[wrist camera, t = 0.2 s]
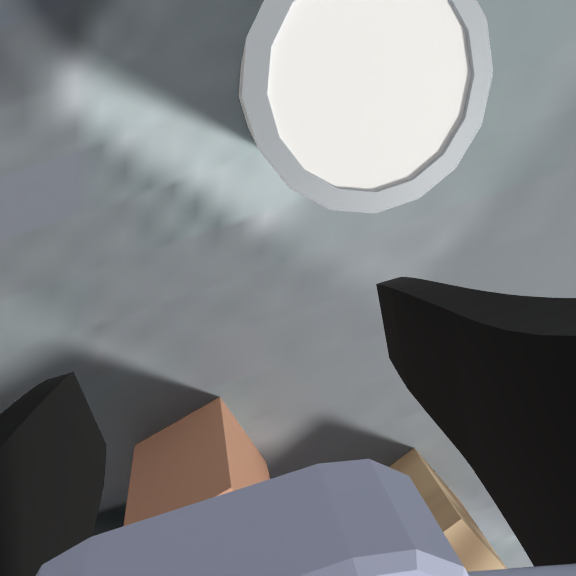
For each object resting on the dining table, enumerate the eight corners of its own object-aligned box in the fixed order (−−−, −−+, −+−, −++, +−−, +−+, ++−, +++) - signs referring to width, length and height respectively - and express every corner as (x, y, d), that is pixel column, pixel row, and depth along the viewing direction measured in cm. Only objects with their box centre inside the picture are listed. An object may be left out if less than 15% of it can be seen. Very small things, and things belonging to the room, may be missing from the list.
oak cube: (458, 499, 29) (511, 575, 24) (388, 551, 29) (426, 636, 24) (413, 446, 27) (461, 518, 22) (338, 503, 27) (370, 586, 22)
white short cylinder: (201, 151, 20) (210, 176, 13) (250, -44, 18) (289, -126, 11) (361, 199, 22) (437, 241, 15) (420, 27, 20) (537, -9, 13)
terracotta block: (266, 462, 25) (289, 563, 20) (187, 507, 25) (188, 621, 20) (219, 396, 23) (231, 487, 18) (134, 444, 23) (119, 550, 18)
